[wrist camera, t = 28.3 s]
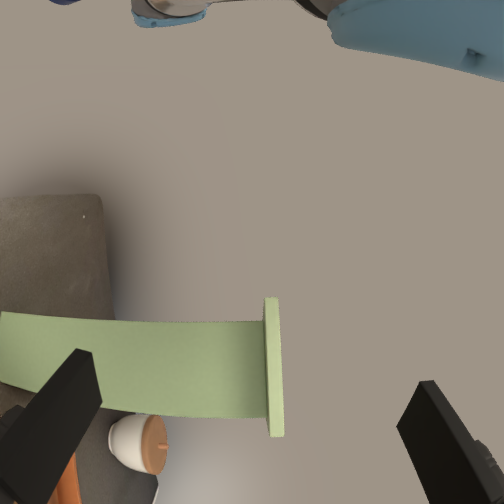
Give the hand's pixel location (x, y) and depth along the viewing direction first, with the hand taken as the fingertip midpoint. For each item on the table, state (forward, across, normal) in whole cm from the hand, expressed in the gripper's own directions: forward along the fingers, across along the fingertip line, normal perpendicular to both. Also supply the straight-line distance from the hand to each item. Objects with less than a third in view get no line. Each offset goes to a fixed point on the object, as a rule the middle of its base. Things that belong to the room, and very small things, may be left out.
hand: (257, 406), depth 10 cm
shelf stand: (+12, -27, -12) cm, 32 cm away
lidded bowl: (+26, -23, -43) cm, 55 cm away
